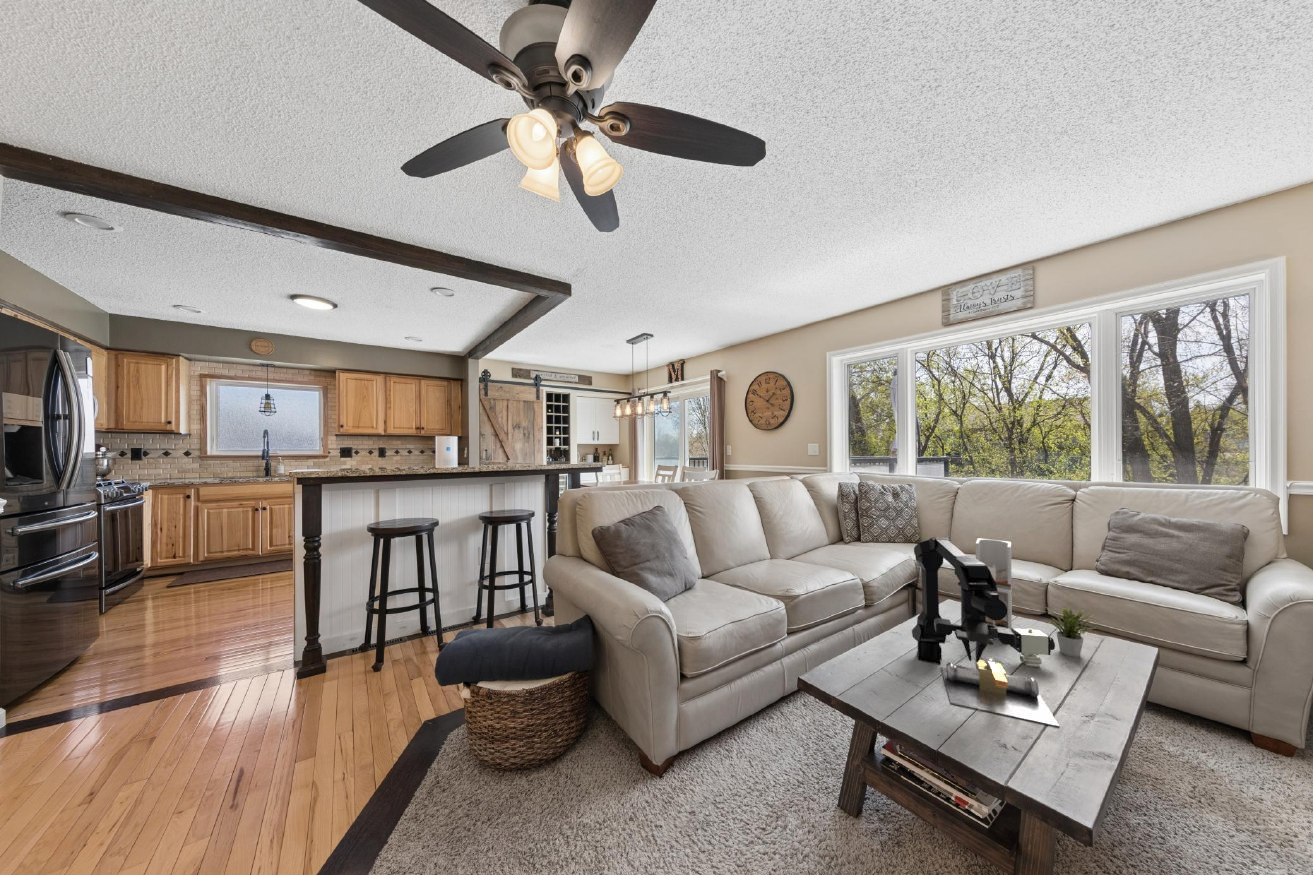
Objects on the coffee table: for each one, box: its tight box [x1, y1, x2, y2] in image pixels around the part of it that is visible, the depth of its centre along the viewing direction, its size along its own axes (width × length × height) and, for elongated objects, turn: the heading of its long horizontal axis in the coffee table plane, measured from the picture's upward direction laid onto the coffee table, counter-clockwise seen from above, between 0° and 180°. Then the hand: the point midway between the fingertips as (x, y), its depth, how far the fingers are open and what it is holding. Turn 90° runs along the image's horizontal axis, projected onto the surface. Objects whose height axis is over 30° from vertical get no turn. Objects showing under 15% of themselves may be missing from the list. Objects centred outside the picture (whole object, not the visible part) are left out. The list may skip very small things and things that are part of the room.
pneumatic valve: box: [1009, 627, 1056, 668], centre depth 150 cm, size 6×12×12 cm, turn 78°
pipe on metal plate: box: [940, 658, 1060, 728], centre depth 132 cm, size 24×22×7 cm
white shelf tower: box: [975, 537, 1013, 640], centre depth 175 cm, size 11×11×35 cm
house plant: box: [1045, 605, 1101, 658], centre depth 156 cm, size 14×14×16 cm
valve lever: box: [983, 656, 1007, 688], centre depth 130 cm, size 15×3×2 cm, turn 154°
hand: (973, 660), depth 128 cm, fingers closed
